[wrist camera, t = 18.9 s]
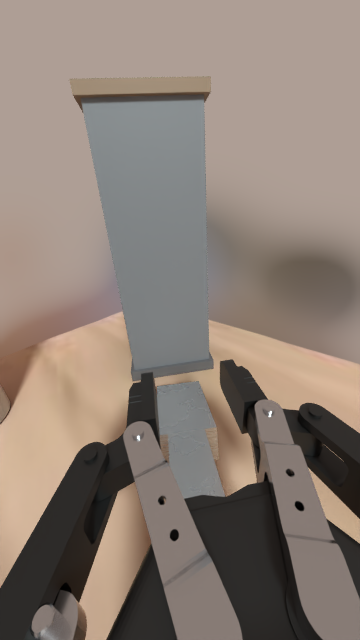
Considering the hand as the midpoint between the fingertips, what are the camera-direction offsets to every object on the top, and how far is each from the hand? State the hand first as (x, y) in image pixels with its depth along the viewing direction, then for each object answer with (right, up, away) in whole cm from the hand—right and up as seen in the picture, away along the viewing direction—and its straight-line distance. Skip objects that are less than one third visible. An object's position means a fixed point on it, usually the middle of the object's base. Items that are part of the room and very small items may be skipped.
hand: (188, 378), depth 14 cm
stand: (-2, -1, +25) cm, 25 cm away
